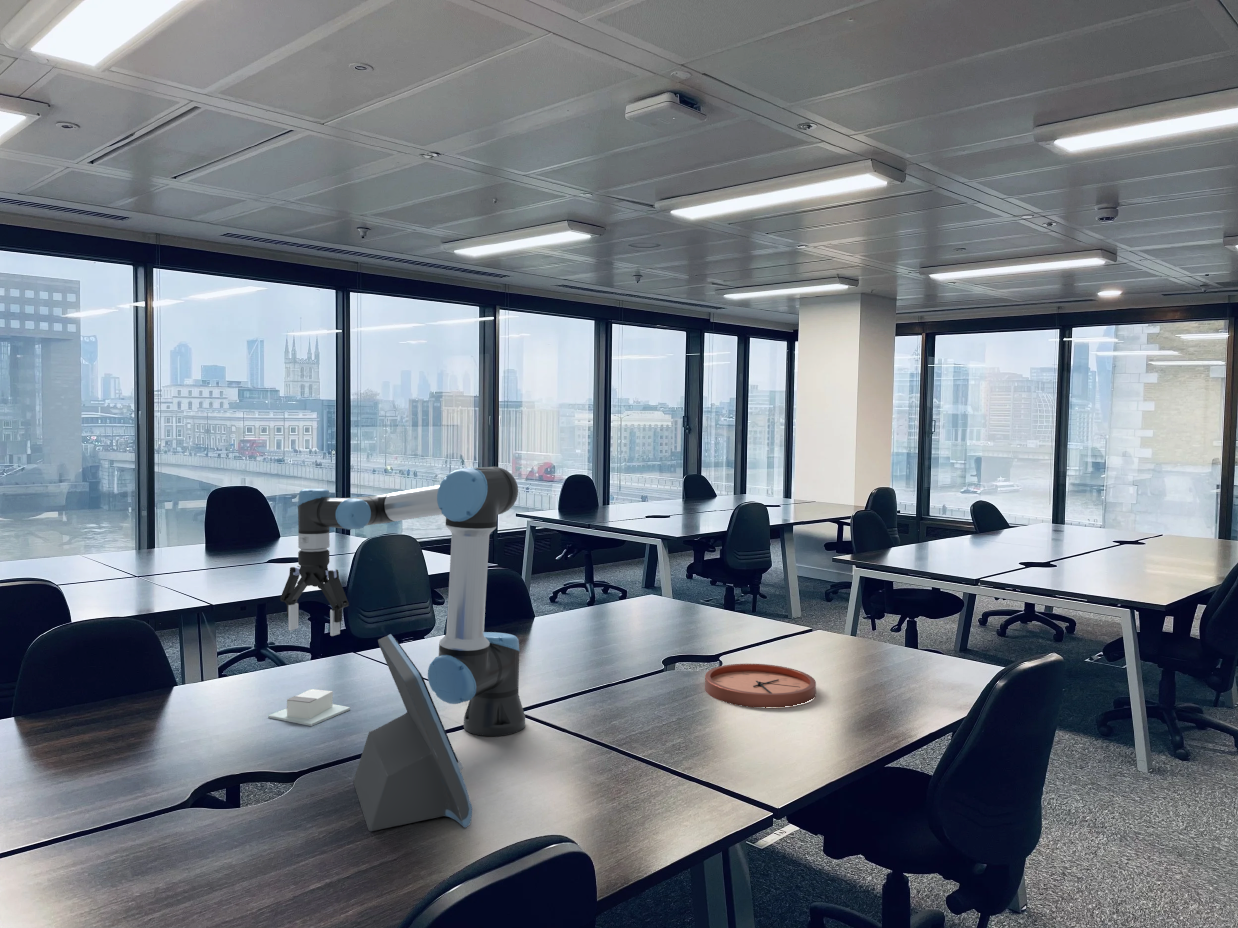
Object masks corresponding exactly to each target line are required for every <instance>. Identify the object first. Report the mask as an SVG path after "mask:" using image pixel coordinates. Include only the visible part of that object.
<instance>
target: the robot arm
mask: <svg viewBox="0 0 1238 928" xmlns="http://www.w3.org/2000/svg"><path fill="white" fill-rule="evenodd" d="M518 496H519V486H518V483H517V480H516V478H515V476H513V474H512V473H511V472H510V471H508V470H506V469H505V468H503V467H499V466H487V467H486V466H485V467H482V466H481V467H463V468H459V469H455V470H453V471H451V472H449V473H448V474H446V476H445V477H444V478H443V479H442V480H441V482H440V484H437V485H431V486H425V487H420V488H418V487H417V488H413V489H407V490H401V491H396V492H391V493H383V494H377V495H368V496H367V495H366V496H355V497H342V498H341V497H331V495H330V491H329V489H327V488H305V489H301V490H300V491H299V492H298V499H297V502H298V503H297V516H298V517H297V520H298V521H297V522H298V523H297V525H298V527H297V528H298V530H297V531H298V533H297V537H298V539H297V541H298V542H297V543H298V546H297V547H298V549H300V550H299V551H298V553H297V556H298V557H297V558H298V559H297V560H298V562H297V563H298V565H297V566H296V565H294V566H290V568H289V575H288V578H287V580H286V583H285V585H284V588H283V590H282V593H281V595H280V597H279V600H280V602H284V603H285V605H286V615H287V617H288V631H290V632H291V631H294V630H298V629H299V603H298V600H299V598H300V597H301V595H302V594H303V593H304V591H305V590H306V588H307V587H310V586H312V587H316V588H318V589H319V590H320V591H322V593H323V595H324V596H325V598H326V601H328V603H329V604H330V606H331V609H330V611H329V617H330V618H329V620H330V621H329V622H330V623H329V625H330V626H329V631H330V632H329V633H330V634H329V635H330V636H331V637H334V636H337V635H340V634H341V622H342V621H343V609H344V608H346V607H349V606H350V603H349V601H348V598H347V596H346V595H347V594H346V592H345V590H344V588H343V585H342V582H341V579H340V574H339V570H338V569H336V568H335V569H331V570H329V568H328V566H329V564H330V550H329V549H328V548H330V528H335V529H336V528H337V529H344V530H349V531H351V530H360V529H364V527H367V526H372V525H381V524H390V523H395V522H399V521H405V520H412V519H413V520H414V519H420V518H427V517H434V516H441V515H443V516H444V517H445V527H446V528H447V529H448V530H449V531H450V533H451V539H450V541H451V542H450V558H449V559H450V560H449V561H450V562H449V577H448V579H449V581H448V600H447V617H446V619H447V621H446V634H445V635H444V636H443V637H441V639H440V640H439V644H438V656H436V657H435V658H434V659H433V660H432V661H431V662H430V664H429V665H428V669H427V680H428V684H429V687H430V689H431V691H432V692H434V693H435V695H436V697H437V698H438V699H439V700H440V701H442V702H443V703H444V702H445V703H447V704H451V705H458V704H461V703H464V702H468V701H469V702H468V704H467V707H466V710H465V712H464V717H463V728H464V730H465V731H466V732H468V733H469V734H472V735H473V734H474V735H477V736H483V737H501V736H508V735H511V734H514V733H517V732H520V731H522V730H524V728H525V726H526V714H525V711H524V708H523V705H522V701H521V698H520V694H519V685H520V683H519V681H520V680H519V679H520V677H519V676H520V652H521V649H520V640H519V638H518V637H517V636H516V635H514V634H511V633H506V632H496V631H494V632H492V631H490V632H489V631H488V632H487V631H485V617H486V614H485V613H486V601H487V584H488V566H489V565H488V563H489V562H488V561H489V551H490V550H489V549H490V548H489V547H490V545H489V544H490V535H491V533H493V532H494V530H496V529H497V525H498V524H497V523H498V515H501V514H505V513H506V512H508V511H510V509H512V508H513V507H514V505H515V504H516V502H517V499H518Z"/></svg>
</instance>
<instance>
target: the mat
mask: <svg viewBox="0 0 1238 928" xmlns="http://www.w3.org/2000/svg"><path fill="white" fill-rule="evenodd" d="M350 710H351V707H350V706H345V705H341V704H340V705H339V704H334V703H333V707H331V708H329V709H327V710H325V711H323V712H321V713H319V714H318V715H316V716H314V717H312V718H310V719H307V718H299V717H290V716H287V707H286V708H284V709H281V710H279V711H275V712H274V713H271V714H268V715H267V717H268V718H269V719H274V720H279V721H285V722H290V723H294V724H299V725H304V726H310V727H313V726H315V725H317V724H319V723H322V722H325V721H327V720H329V719H331V718H334V717H336V716H339V715H341V714H344V713H346V712H348V711H350Z"/></svg>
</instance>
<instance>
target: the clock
mask: <svg viewBox="0 0 1238 928" xmlns="http://www.w3.org/2000/svg"><path fill="white" fill-rule="evenodd" d="M816 688H817V682H816V680H815V678H814V677H812V676H811V675H810V674H808V673H806V672H804V671H801V670H797V669H795V668H791V667H787V666H782V665H781V666H780V665H773V664H765V663H734V664H724V665H721V666H716V667H714V668H711V669H709V670H708V671H706V672H705V675H704V690H705V691H704V692H705V693H706V694H708V696H710V697H712V698H713V699H716V700H717V701H718V700H719V701H721V702H723V701H724V703H726V702H727V704H730V703H731V704H730V705H734V704H736V705H735V706H739V705H742V707H746V706H748V707H747V708H754V707H765V708H764V709H767V708H766V707H785V706H793V705H797V704H801V703H805V702H807V701H809V700H811V699H813V698H814V697H815V698H816V696H815V694H817V693H816V692H817V689H816Z"/></svg>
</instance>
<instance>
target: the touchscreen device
mask: <svg viewBox="0 0 1238 928" xmlns="http://www.w3.org/2000/svg"><path fill="white" fill-rule="evenodd" d="M377 642H378V646H379V649H380V650H381V653H382V655H383V658H384V660H385V663H386V665H387V668H388V669H389V672H390V674H391V677H392V679H393V680H394V684H395V686H396V689H397V691H398V693H399V696H400V698H401V700H402V703H403V705H404V707H405V710H406V712H405V713H403V714H402V715H400V716H399V717H397V718H395V719H392V720H391V721H389V722H387V723H385V724H383V725H381V726H379V727H378V728H376V729H374V730H371V731H369V732H368V734H367V737H366V740H365V744H364V746H363V750H362V753H361V756H360V760H359V763H358V765H357V767H356V768H357V769H356V771H355V775H354V778H353V785H354V789H355V792H356V794H357V799H358V801H359V804H360V808H361V811H362V813H363V818H364V821H365V823H366V828H367V829H368V831H369V832H375V831H380V830H384V829H390V828H394V827H399V826H403V825H407V824H412V823H417V822H422V821H427V820H431V819H436V818H441V817H447V818H451V819H453V820H454V821H456V822H457V823H459V824H460V825H461V826H462V827H463V828H465V829H466V828H467V827H468V826H470V824H471V823H472V816H473V806H472V803H471V800H470V795H469V792H468V788H467V785H466V783H465V780H464V777H463V774H462V771H461V770H463V769H464V766H463V764H462V762H461V760H460V758H459V757H458V756H457V754H456V752H455V750H454V748H453V745H452V744H451V743H452V742H451V741H450V739H449V736H448V734H447V732H446V731H447V730H446V729H445V727H444V724H443V721H442V720H441V717H440V715H439V713H438V710H437V708H436V705H435V703H434V700H433V698H432V696H431V692H430V691H429V687H428V686H427V684H426V682H425V679H424V677H423V675H422V672H420V670H419V669H418V668H417V666H416V665H415V664H414V662H413V660H412V659H411V658H410V656H409V654H407V652H406V651H405V650H404V648H403V647H402V646H401V644H400V642H399V641H398V640H397V639H396V638H395V637H394V636H393V635H392V634H391V633H390V634H388V635H385V636H384V637H381V638H379V639H377Z"/></svg>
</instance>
